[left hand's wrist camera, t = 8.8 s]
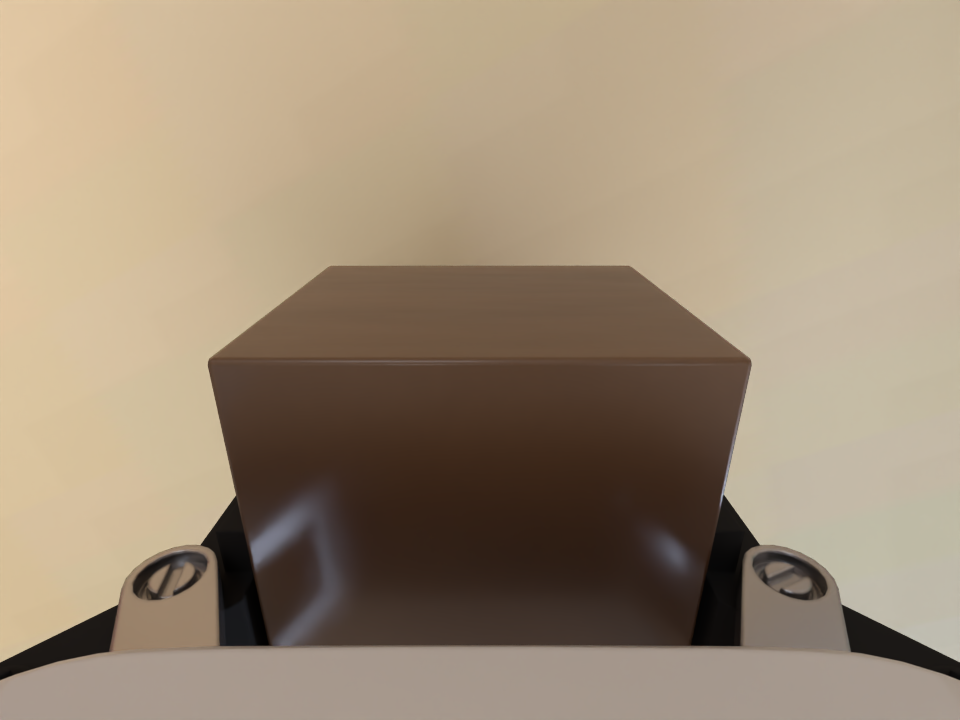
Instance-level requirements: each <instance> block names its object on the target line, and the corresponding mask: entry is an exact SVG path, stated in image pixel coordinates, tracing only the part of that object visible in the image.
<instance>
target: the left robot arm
mask: <svg viewBox="0 0 960 720" xmlns="http://www.w3.org/2000/svg"><path fill="white" fill-rule="evenodd" d="M0 720H960V662H958V661H956V660H954V659H952V658H949V657H947V656H945V655H943V654H941V653H939V652H937V651H935V650H933V649H931V648H929V647H927V646H925V645H923V644H921V643H919V642H917V641H915V640H913V639H911V638H909V637H907V636H905V635H903V634H901V633H899V632H897V631H895V630H892V629H890V628H888V627H886V626H884V625H882V624H880V623H878V622H876V621H874V620H872V619H870V618H868V617H866V616H864V615H862V614H860V613H858V612H856V611H854V610H852V609H850V608H848V607H846V606H844V605H842V604H841V599H840V594H839V589H838V587H837V584H836V582H835V580H834V578H833V577H832V576H831V574H830V573H829V572H828V571H827V570H826V569H825V568H824V567H823V566H821V565H820V564H819V563H818V562H816V561H815V560H813V559H812V558H810V557H808V556H806V555H804V554H802V553H800V552H798V551H795V550H792V549H789V548H786V547H781V546H776V545H760V544H759V543H758V542H757V540H756V539H755V538H754V536H753V535H752V533H751V532H750V531H749V529H748V528H747V526H746V525H745V524H744V522H743V521H742V519H741V518H740V517H739V515H738V514H737V512H736V511H735V510H734V508H733V507H732V505H731V504H730V503H729V501H728V500H727V498H726V497H725V496H724V495H723V499H722V504H721V509H720V513H719V518H718V522H717V527H716V532H715V536H714V541H713V545H712V550H711V555H710V559H709V564H708V569H707V573H706V578H705V582H704V587H703V592H702V596H701V601H700V606H699V610H698V615H697V619H696V624H695V629H694V633H693V638H692V642H691V646H619V645H341V646H269V643H268V639H267V634H266V629H265V625H264V620H263V616H262V611H261V607H260V602H259V597H258V593H257V588H256V584H255V579H254V574H253V570H252V565H251V561H250V556H249V552H248V547H247V542H246V538H245V533H244V529H243V524H242V519H241V515H240V510H239V506H238V501H237V497H236V496H235V498H234V499H233V501H232V502H231V503H230V505H229V506H228V508H227V509H226V510H225V512H224V513H223V514H222V516H221V517H220V519H219V520H218V521H217V523H216V524H215V526H214V527H213V528H212V530H211V531H210V533H209V534H208V535H207V537H206V538H205V540H204V541H203V542H202V544H201V545H184V546H179V547H174V548H171V549H168V550H165V551H162V552H160V553H158V554H156V555H154V556H152V557H150V558H148V559H147V560H145V561H144V562H142V563H141V564H140V565H139V566H137V567H136V568H135V569H134V570H133V571H132V572H131V573H130V574H129V576H128V577H127V578H126V580H125V582H124V584H123V587H122V589H121V594H120V599H119V604H118V605H117V606H115V607H113V608H111V609H108V610H106V611H104V612H102V613H100V614H98V615H96V616H94V617H92V618H90V619H88V620H86V621H84V622H82V623H80V624H78V625H76V626H74V627H72V628H70V629H68V630H66V631H64V632H62V633H60V634H58V635H56V636H54V637H51V638H49V639H47V640H45V641H43V642H41V643H39V644H37V645H35V646H33V647H31V648H29V649H27V650H25V651H23V652H21V653H19V654H17V655H15V656H13V657H11V658H9V659H7V660H5V661H3V662H1V663H0Z"/></svg>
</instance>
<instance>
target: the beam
mask: <svg viewBox="0 0 960 720" xmlns="http://www.w3.org/2000/svg"><path fill="white" fill-rule="evenodd" d="M208 368H209V373H210V377H211V382H212V387H213V391H214V396H215V400H216V405H217V409H218V414H219V419H220V423H221V428H222V432H223V437H224V442H225V446H226V451H227V455H228V460H229V464H230V469H231V474H232V478H233V483H234V487H235V492H236V497H237V501H238V506H239V510H240V515H241V519H242V524H243V529H244V533H245V538H246V542H247V547H248V552H249V556H250V561H251V565H252V570H253V574H254V579H255V584H256V588H257V593H258V597H259V602H260V607H261V611H262V616H263V620H264V625H265V629H266V634H267V639H268V643H269V646H341V645H619V646H691V642H692V638H693V633H694V629H695V624H696V619H697V615H698V610H699V606H700V601H701V596H702V592H703V587H704V582H705V578H706V573H707V569H708V564H709V559H710V555H711V550H712V545H713V541H714V536H715V532H716V527H717V522H718V518H719V513H720V509H721V504H722V499H723V495H724V490H725V485H726V481H727V476H728V472H729V467H730V462H731V458H732V453H733V448H734V444H735V439H736V435H737V430H738V425H739V421H740V416H741V412H742V407H743V402H744V398H745V393H746V388H747V384H748V379H749V375H750V370H751V360H750V358H749V357H747V356H746V355H745V354H743V353H742V352H741V351H740V350H738V349H737V348H736V347H734V346H733V345H732V344H731V343H729V342H728V341H727V340H725V339H724V338H723V337H721V336H720V335H719V334H718V333H716V332H715V331H714V330H712V329H711V328H710V327H709V326H707V325H706V324H705V323H703V322H702V321H701V320H699V319H698V318H697V317H696V316H694V315H693V314H692V313H690V312H689V311H688V310H687V309H685V308H684V307H683V306H681V305H680V304H679V303H677V302H676V301H675V300H674V299H672V298H671V297H670V296H668V295H667V294H666V293H664V292H663V291H662V290H661V289H659V288H658V287H657V286H655V285H654V284H653V283H652V282H650V281H649V280H648V279H646V278H645V277H644V276H642V275H641V274H640V273H639V272H637V271H636V270H635V269H633V268H632V267H630V266H330V267H328V268H327V269H325V270H324V271H323V272H321V273H320V274H319V275H318V276H316V277H315V278H314V279H312V280H311V281H310V282H308V283H307V284H306V285H305V286H303V287H302V288H301V289H299V290H298V291H297V292H295V293H294V294H293V295H292V296H290V297H289V298H288V299H286V300H285V301H284V302H282V303H281V304H280V305H279V306H277V307H276V308H275V309H273V310H272V311H271V312H269V313H268V314H267V315H266V316H264V317H263V318H262V319H260V320H259V321H258V322H256V323H255V324H254V325H253V326H251V327H250V328H249V329H247V330H246V331H245V332H243V333H242V334H241V335H240V336H238V337H237V338H236V339H234V340H233V341H232V342H230V343H229V344H228V345H227V346H225V347H224V348H223V349H221V350H220V351H219V352H217V353H216V354H215V355H214V356H212V357H211V358H210V359H209V361H208Z"/></svg>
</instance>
